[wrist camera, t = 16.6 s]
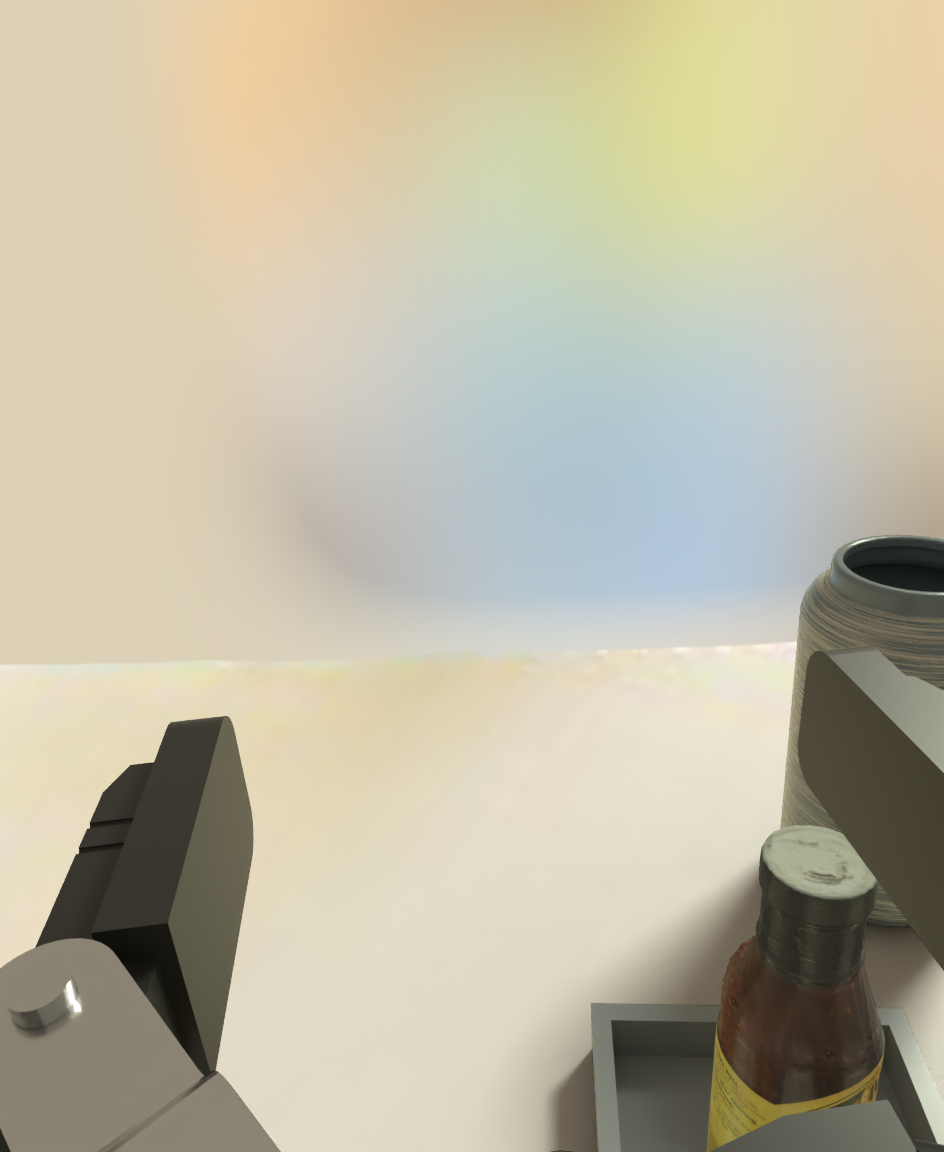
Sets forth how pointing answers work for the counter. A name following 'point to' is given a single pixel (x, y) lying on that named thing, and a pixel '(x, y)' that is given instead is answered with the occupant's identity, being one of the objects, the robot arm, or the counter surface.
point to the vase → (868, 643)
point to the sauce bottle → (798, 991)
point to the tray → (684, 1077)
